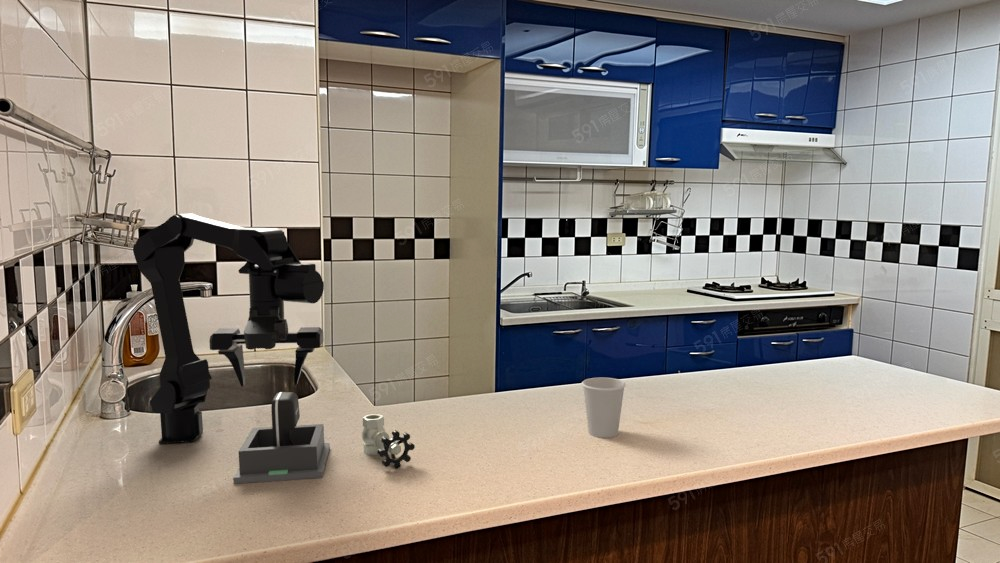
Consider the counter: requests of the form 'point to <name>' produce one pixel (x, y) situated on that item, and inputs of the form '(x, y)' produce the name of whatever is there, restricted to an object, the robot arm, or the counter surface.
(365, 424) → the valve
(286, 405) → the battery charger
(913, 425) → the counter surface
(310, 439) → the dock
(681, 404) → the counter surface
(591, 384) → the dixie cup
